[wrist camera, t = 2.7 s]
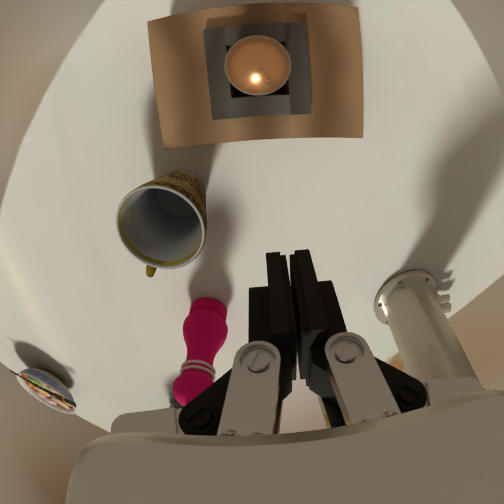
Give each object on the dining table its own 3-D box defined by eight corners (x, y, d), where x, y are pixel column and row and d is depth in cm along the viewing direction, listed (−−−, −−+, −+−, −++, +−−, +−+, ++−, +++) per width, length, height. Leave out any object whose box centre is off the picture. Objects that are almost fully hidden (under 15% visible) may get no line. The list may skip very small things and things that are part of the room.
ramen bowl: (30, 377, 75) (22, 394, 68) (15, 343, 63) (4, 363, 56) (88, 405, 79) (81, 423, 73) (82, 377, 68) (73, 400, 61)
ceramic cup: (155, 147, 34) (123, 172, 26) (228, 172, 36) (218, 205, 28) (136, 230, 41) (109, 271, 32) (198, 252, 43) (185, 298, 34)
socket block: (339, 19, 24) (361, 4, 17) (344, 126, 32) (367, 140, 25) (167, 30, 26) (142, 19, 19) (181, 136, 33) (160, 152, 26)
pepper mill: (185, 293, 47) (157, 401, 31) (229, 296, 47) (216, 407, 31) (190, 323, 51) (169, 423, 35) (230, 325, 51) (220, 428, 35)
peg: (280, 47, 22) (288, 33, 15) (283, 90, 24) (293, 94, 17) (232, 50, 22) (221, 38, 15) (236, 93, 24) (227, 98, 18)
